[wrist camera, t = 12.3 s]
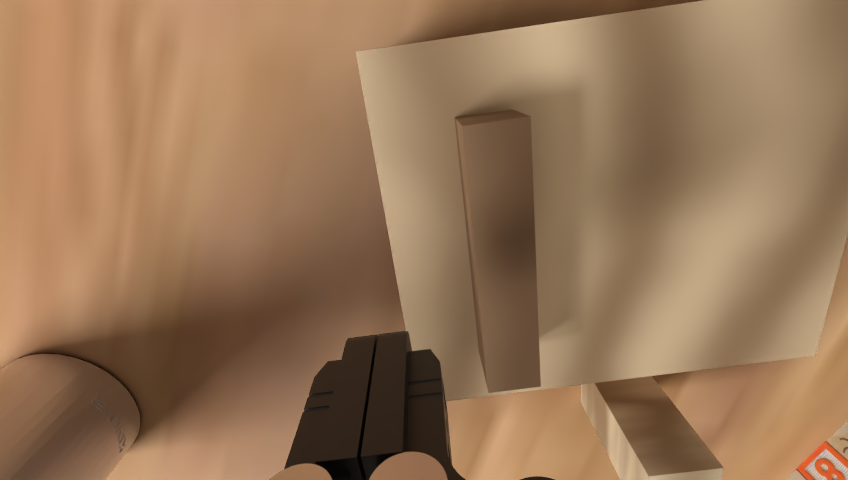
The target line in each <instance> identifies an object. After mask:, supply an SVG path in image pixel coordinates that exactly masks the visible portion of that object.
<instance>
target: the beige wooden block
mask: <svg viewBox="0 0 848 480" xmlns="http://www.w3.org/2000/svg"><path fill="white" fill-rule="evenodd" d="M581 403H582V405H583V407H584V409H585V411H586V413H587V415H588V417H589V419H590V421H591V423H592V425H593V427H594V429H595V431H596V433H597V435H598V437H599V438H600V440H601V442H602V444H603V446H604V448H605V450H606V452H607V454H608V456H609V458H610V460H611V462H612V464H613V466H614V468H615V470H616V472H617V474H618V476H619V478H620V480H721V479H722V474H723V469H724V468H723V466H722V465H721V464H720V463H719V461H718V460H717V459H716V457H715V456H714V455H713V454H712V452H711V451H710V450H709V449H708V447H707V446H706V445H705V443H704V442H703V441H702V440H701V438H700V437H699V436H698V434H697V433H696V432H695V431H694V429H693V428H692V427H691V426H690V424H689V423H688V422H687V420H686V419H685V418H684V417H683V415H682V414H681V413H680V411H679V410H678V409H677V408H676V406H675V405H674V404H673V403H672V401H671V400H670V399H669V397H668V396H667V395H666V394H665V392H664V391H663V390H662V388H661V387H660V386H659V385H658V383H657V382H656V381H655V380H654V378H653V377H652V376H647V377H639V378H631V379H623V380H615V381H607V382H599V383H591V384H582V385H581Z"/></svg>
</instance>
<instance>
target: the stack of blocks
mask: <svg viewBox="0 0 848 480" xmlns="http://www.w3.org/2000/svg"><path fill="white" fill-rule="evenodd" d="M785 480H848V421H847V422H846V423H845V424H844V425H843V426H842V427H841V428H840V429H839V430H838V431H837V432H835V433H834V434H833V435H832V436H831V437H830V438H829V439H828V440H827V441H826V442H824V443H823V444H822V445H821V446H820V447H819V448H818V449H817V450H816V451H815V452H814V453H812V454H811V455H810V456H809V457H808V458H807V459H806V460H805V461H804V462H803V463H802V464H801V465H800V466H799V467H798V468H797V469H796V470H795V471H794V472H793V473H792V474H791V475H789V476H788V477H787V478H786V479H785Z"/></svg>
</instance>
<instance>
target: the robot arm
mask: <svg viewBox="0 0 848 480" xmlns="http://www.w3.org/2000/svg"><path fill="white" fill-rule="evenodd" d="M139 429H140V414H139V411H138V408H137V405H136V403H135V401H134V399H133V398H132V396H131V395H130V393H129V392H128V390H127V389H126V388H125V387H124V386H123V385H122V384H121V383H120V382H119V381H118V380H117V379H115V378H114V377H113V376H111V375H110V374H108V373H107V372H106V371H104V370H102V369H100V368H98V367H97V366H95V365H93V364H91V363H88V362H86V361H83V360H80V359H77V358H74V357H69V356H64V355H59V354H36V355H29V356H25V357H22V358H19V359H17V360H14V361H12V362H11V363H10V364H8V365H7V366H5V367H4V368H2V369H1V370H0V480H106V479H107V477H108V476H109V475H110V473H111V472H112V471H113V469H114V468H115V467H116V465H117V464H118V463H119V461H120V460H121V459H122V457H123V456H124V455H125V453H126V452H127V451H128V449H129V448H130V447H131V445H132V444H133V443H134V441H135V439H136V437H137V436H138V433H139ZM270 480H465V479H464V478H463V477H461V476H460V475H459V474H458V473H457V472H456V470H455V469H454V468H453V466H452V458H451V447H450V436H449V425H448V414H447V406H446V399H445V392H444V385H443V378H442V372H441V365H440V361H439V360H438V358H437V357H436V356H435V354H434V353H433V352H432V350H431V349H425V350H417V351H412V348H411V342H410V336H409V333H408V331H402V332H394V333H386V334H379V335H370V336H362V337H354V338H348V339H347V341H346V344H345V348H344V352H343V356H342V360H336V361H328V362H327V363H326V364H325V365H324V367H323V368H322V369H321V370H320V371H319V372H318V374H317V375H316V376H315V378H314V381H313V384H312V387H311V390H310V393H309V397H308V399H307V402H306V405H305V408H304V412H303V414H302V417H301V420H300V423H299V426H298V429H297V432H296V435H295V438H294V441H293V444H292V447H291V450H290V453H289V456H288V459H287V462H286V465H285V468H284V470H282V471H280V472H279V473H277V474H276V475H274V476H273V477H272V478H271V479H270ZM521 480H554V479H551V478H546V477H528V478H524V479H521Z"/></svg>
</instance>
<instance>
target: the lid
mask: <svg viewBox="0 0 848 480" xmlns="http://www.w3.org/2000/svg"><path fill="white" fill-rule="evenodd" d="M356 57H357V63H358V68H359V74H360V80H361V85H362V91H363V96H364V102H365V107H366V113H367V118H368V124H369V130H370V135H371V141H372V146H373V152H374V157H375V163H376V169H377V174H378V180H379V185H380V191H381V196H382V202H383V207H384V213H385V219H386V224H387V230H388V235H389V241H390V246H391V252H392V257H393V263H394V269H395V274H396V280H397V285H398V291H399V296H400V302H401V307H402V313H403V319H404V324H405V330H406V331H408V333H409V336H410V342H411V348H412V351H417V350H425V349H431V350H432V352H433V353H434V354H435V356H436V357H437V358H438V360H439V361H440V365H441V372H442V378H443V385H444V392H445V399H446V401H452V400H460V399H469V398H477V397H485V396H493V395H501V394H509V393H517V392H525V391H534V390H542V389H550V388H558V387H566V386H574V385H582V384H591V383H599V382H607V381H615V380H623V379H631V378H639V377H647V376H656V375H664V374H672V373H680V372H688V371H696V370H704V369H712V368H721V367H729V366H737V365H745V364H753V363H761V362H769V361H777V360H786V359H794V358H802V357H810V356H816V352H817V348H818V344H819V341H820V337H821V333H822V329H823V326H824V322H825V318H826V314H827V311H828V307H829V303H830V300H831V296H832V292H833V288H834V285H835V281H836V277H837V273H838V270H839V266H840V262H841V258H842V255H843V251H844V247H845V243H846V240H847V236H848V0H702V1H696V2H689V3H682V4H675V5H669V6H662V7H655V8H648V9H642V10H635V11H628V12H621V13H615V14H608V15H601V16H594V17H588V18H581V19H574V20H567V21H560V22H554V23H547V24H540V25H533V26H527V27H520V28H513V29H506V30H500V31H493V32H486V33H479V34H473V35H466V36H459V37H452V38H446V39H439V40H432V41H425V42H419V43H412V44H405V45H398V46H391V47H385V48H378V49H371V50H364V51H358V52H356Z"/></svg>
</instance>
